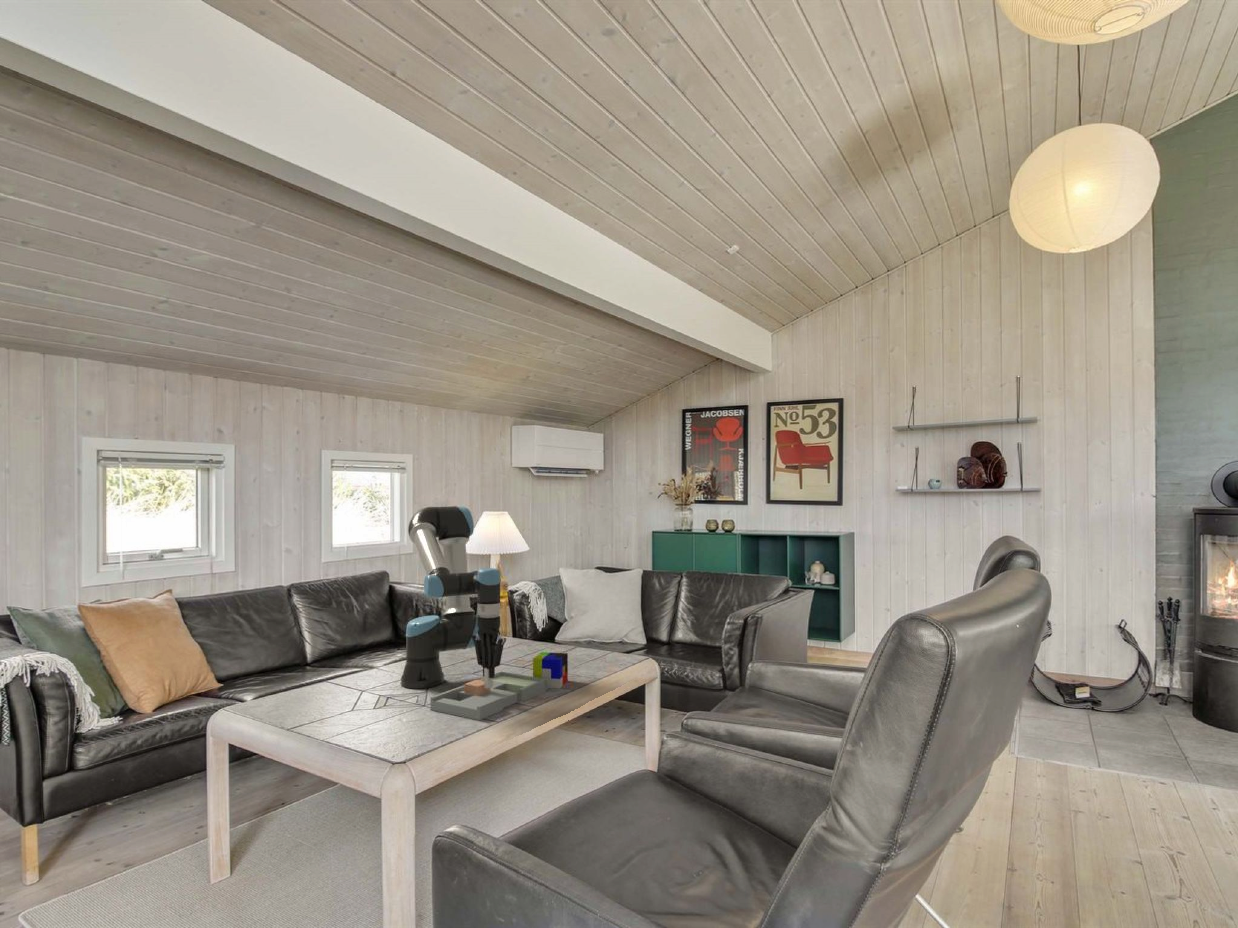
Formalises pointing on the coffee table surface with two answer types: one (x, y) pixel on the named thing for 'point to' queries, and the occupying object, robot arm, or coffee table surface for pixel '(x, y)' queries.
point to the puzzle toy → (551, 668)
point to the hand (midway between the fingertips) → (488, 687)
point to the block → (475, 688)
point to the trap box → (489, 696)
